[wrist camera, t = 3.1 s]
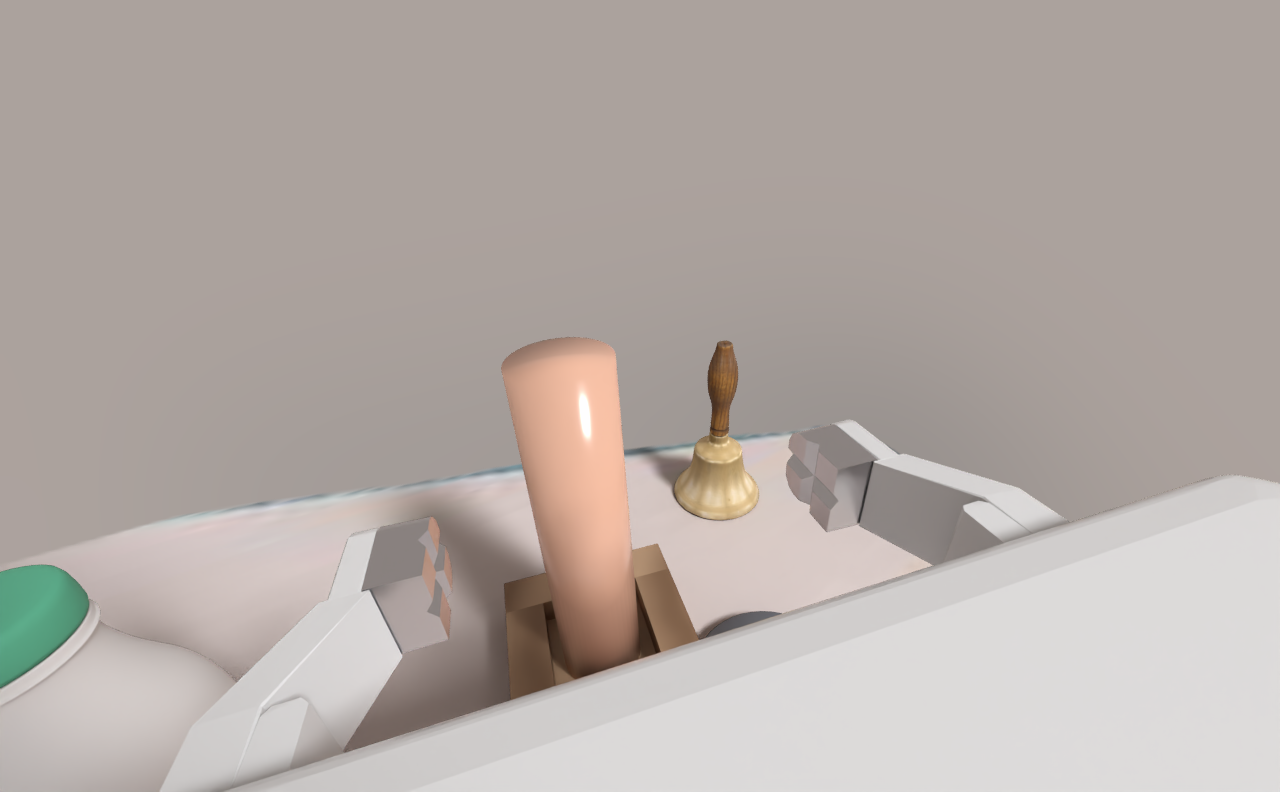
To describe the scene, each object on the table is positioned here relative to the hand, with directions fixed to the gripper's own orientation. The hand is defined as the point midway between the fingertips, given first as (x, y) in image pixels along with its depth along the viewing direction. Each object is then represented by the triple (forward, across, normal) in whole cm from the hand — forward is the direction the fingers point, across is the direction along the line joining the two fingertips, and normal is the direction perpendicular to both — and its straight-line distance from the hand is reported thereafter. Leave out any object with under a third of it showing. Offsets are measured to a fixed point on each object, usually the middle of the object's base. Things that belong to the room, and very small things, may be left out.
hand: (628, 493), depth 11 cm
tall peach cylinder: (+12, 0, +24) cm, 27 cm away
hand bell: (+26, -14, +25) cm, 39 cm away
